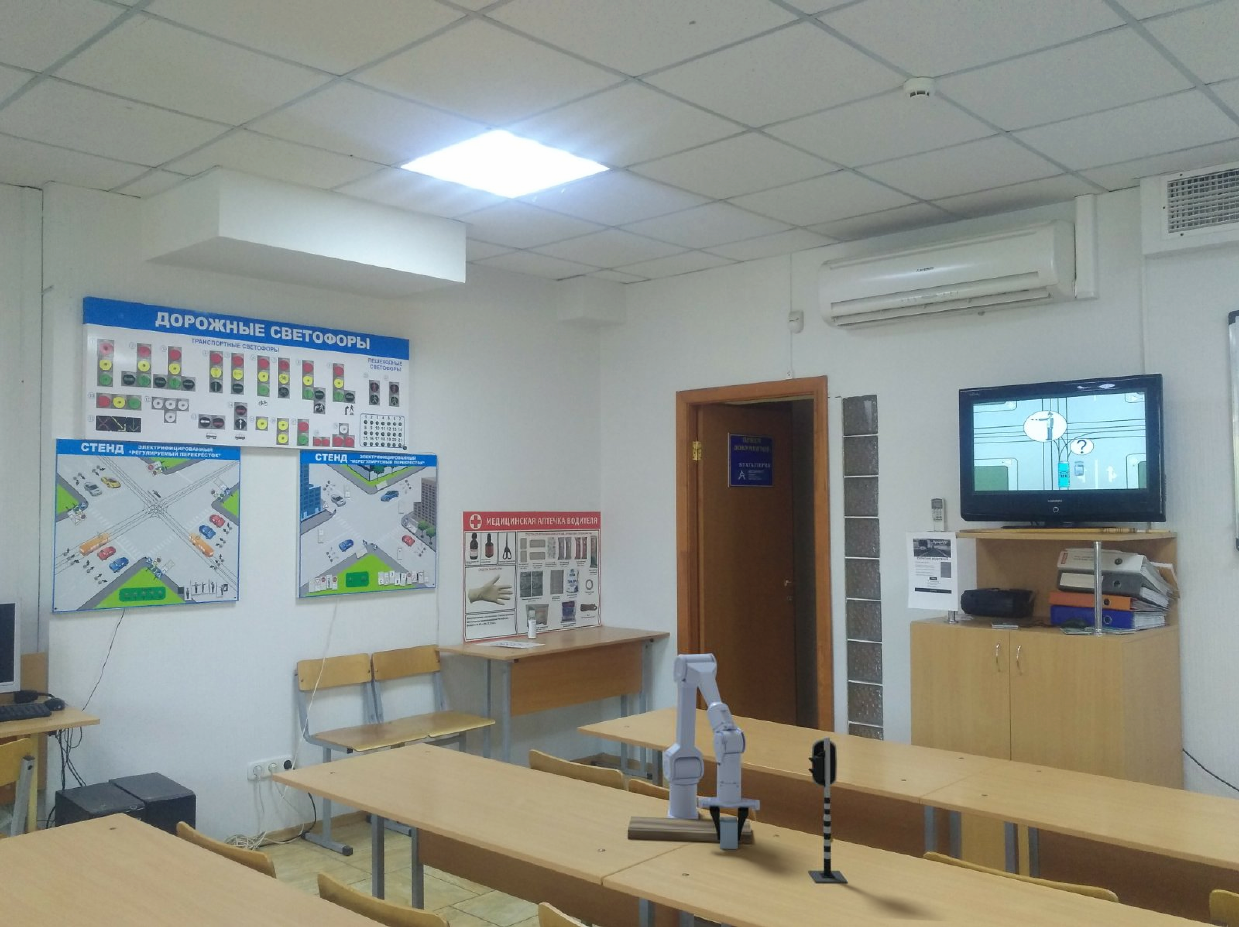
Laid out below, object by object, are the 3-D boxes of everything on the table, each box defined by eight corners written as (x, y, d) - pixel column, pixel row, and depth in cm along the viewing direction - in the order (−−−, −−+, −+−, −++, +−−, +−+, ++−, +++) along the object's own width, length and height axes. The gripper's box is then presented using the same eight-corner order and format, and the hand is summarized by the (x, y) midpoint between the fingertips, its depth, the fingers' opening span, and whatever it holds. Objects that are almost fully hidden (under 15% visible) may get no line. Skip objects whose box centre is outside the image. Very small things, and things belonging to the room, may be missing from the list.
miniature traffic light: (838, 871, 222) (838, 733, 224) (847, 883, 214) (846, 740, 217) (805, 871, 222) (805, 733, 224) (812, 882, 214) (812, 740, 216)
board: (631, 824, 256) (631, 816, 256) (749, 828, 253) (749, 820, 254) (627, 838, 244) (627, 829, 244) (751, 843, 242) (751, 834, 242)
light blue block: (719, 838, 245) (720, 813, 245) (736, 839, 244) (736, 813, 245) (720, 848, 237) (720, 822, 237) (737, 849, 236) (737, 823, 237)
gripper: (698, 784, 237) (698, 843, 236) (760, 786, 236) (760, 845, 235) (698, 777, 244) (698, 834, 243) (758, 779, 243) (758, 836, 242)
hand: (728, 839), depth 239 cm, fingers closed on light blue block, 4 cm apart
